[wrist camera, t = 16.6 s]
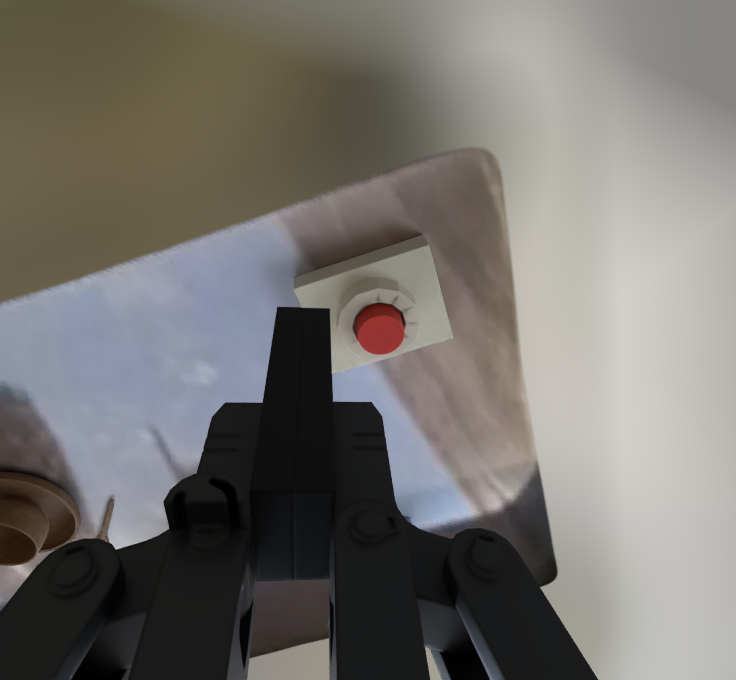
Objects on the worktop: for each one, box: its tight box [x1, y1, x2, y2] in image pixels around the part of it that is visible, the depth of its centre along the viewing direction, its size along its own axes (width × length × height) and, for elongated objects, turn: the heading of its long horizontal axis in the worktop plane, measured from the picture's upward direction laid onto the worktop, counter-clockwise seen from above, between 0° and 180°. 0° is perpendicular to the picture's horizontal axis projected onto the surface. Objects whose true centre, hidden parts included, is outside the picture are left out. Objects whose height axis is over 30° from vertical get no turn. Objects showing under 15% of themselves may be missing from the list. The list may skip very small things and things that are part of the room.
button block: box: [294, 235, 453, 374], centre depth 40 cm, size 11×9×4 cm
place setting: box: [0, 472, 114, 566], centre depth 51 cm, size 18×20×6 cm
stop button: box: [356, 304, 404, 355], centre depth 38 cm, size 4×4×2 cm
